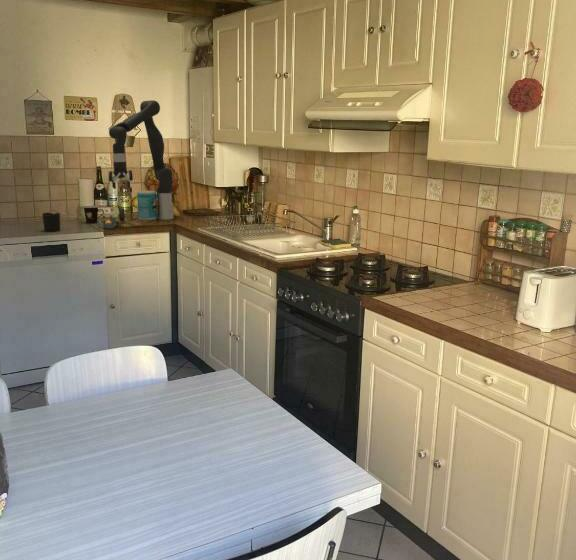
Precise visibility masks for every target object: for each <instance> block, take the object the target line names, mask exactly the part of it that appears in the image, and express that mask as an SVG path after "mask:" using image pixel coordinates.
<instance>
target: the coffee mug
mask: <svg viewBox="0 0 576 560" xmlns="http://www.w3.org/2000/svg"><path fill="white" fill-rule="evenodd" d="M83 210H84V216H85V217H84V218H85V222H86V224H89V223H92V224H98V219H99V218H100V217H103V215H104V214H105V210H104V209H102V208H99V206H97V205H85V206H83ZM99 211H102V214H100V215H99V216H98V214H99Z"/></svg>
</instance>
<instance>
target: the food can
mask: <svg viewBox="0 0 576 560" xmlns="http://www.w3.org/2000/svg"><path fill="white" fill-rule="evenodd" d="M136 194H137V195H136V196H137V218H138V221H156V220H158V206H157V190H138V191H137V193H136Z"/></svg>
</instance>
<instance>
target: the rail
mask: <svg viewBox="0 0 576 560" xmlns="http://www.w3.org/2000/svg"><path fill="white" fill-rule="evenodd" d="M138 225H139V226H144V222H140V220H134V221H129V224H121V226H120V227H121V228H125V227H137V226H138Z"/></svg>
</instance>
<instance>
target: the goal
mask: <svg viewBox="0 0 576 560" xmlns="http://www.w3.org/2000/svg"><path fill="white" fill-rule="evenodd" d="M106 221H107V220H99V221H98V220H97V227H98V226H100V227H102V228H101V229H103V228H108V229H115V225H114V223H105V222H106ZM100 227H99V228H100Z"/></svg>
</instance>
